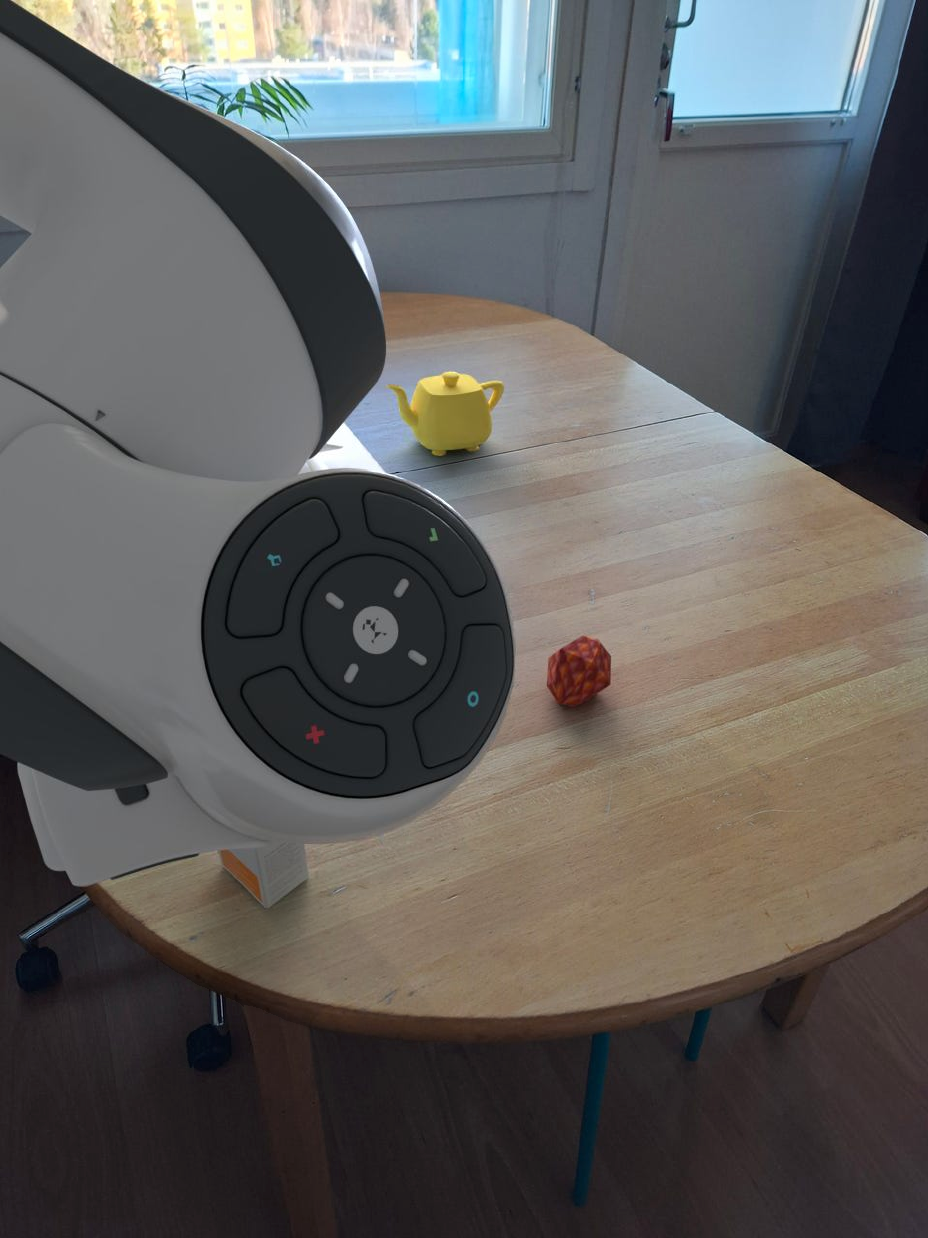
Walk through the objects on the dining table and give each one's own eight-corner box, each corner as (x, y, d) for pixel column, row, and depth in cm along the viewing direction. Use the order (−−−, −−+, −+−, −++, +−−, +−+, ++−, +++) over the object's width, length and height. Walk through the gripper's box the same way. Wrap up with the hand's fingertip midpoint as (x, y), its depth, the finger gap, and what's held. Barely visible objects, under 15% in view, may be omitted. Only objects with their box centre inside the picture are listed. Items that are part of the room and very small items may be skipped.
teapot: (398, 467, 124) (397, 395, 118) (377, 436, 132) (374, 367, 126) (515, 451, 129) (519, 381, 123) (487, 421, 138) (490, 354, 131)
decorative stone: (538, 709, 87) (578, 648, 90) (595, 733, 83) (635, 668, 86) (519, 674, 83) (562, 611, 86) (579, 697, 79) (622, 630, 82)
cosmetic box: (219, 866, 68) (194, 758, 61) (263, 835, 71) (245, 727, 64) (266, 913, 65) (246, 804, 58) (311, 879, 67) (297, 770, 60)
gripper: (501, 570, 37) (418, 638, 50) (-29, 728, 29) (35, 760, 42) (554, 711, 36) (456, 743, 49) (24, 909, 29) (72, 886, 42)
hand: (257, 752), depth 46 cm, fingers open, 8 cm apart
